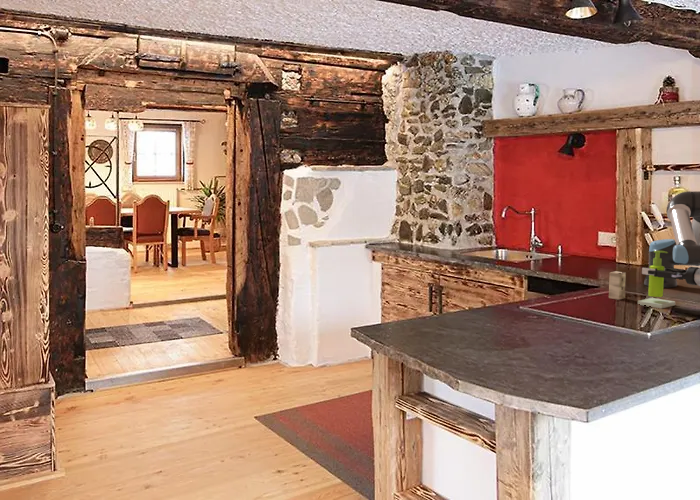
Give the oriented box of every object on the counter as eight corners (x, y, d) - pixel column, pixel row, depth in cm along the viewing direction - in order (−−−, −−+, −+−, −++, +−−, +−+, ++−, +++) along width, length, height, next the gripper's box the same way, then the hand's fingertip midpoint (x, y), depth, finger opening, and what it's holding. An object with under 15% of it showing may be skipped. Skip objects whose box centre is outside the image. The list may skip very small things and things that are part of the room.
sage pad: (651, 301, 301) (651, 297, 301) (675, 305, 292) (675, 301, 292) (637, 304, 295) (637, 300, 294) (661, 308, 286) (661, 304, 285)
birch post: (615, 296, 313) (615, 270, 311) (625, 298, 308) (626, 272, 307) (608, 297, 310) (609, 271, 308) (618, 299, 305) (619, 273, 304)
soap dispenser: (666, 297, 289) (669, 251, 287) (649, 296, 290) (652, 251, 288) (663, 295, 295) (665, 250, 293) (646, 294, 296) (649, 250, 294)
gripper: (686, 287, 272) (634, 280, 291) (709, 282, 282) (658, 276, 301) (686, 269, 271) (634, 263, 290) (710, 265, 281) (658, 259, 300)
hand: (646, 270), depth 295 cm, fingers closed on soap dispenser, 6 cm apart
